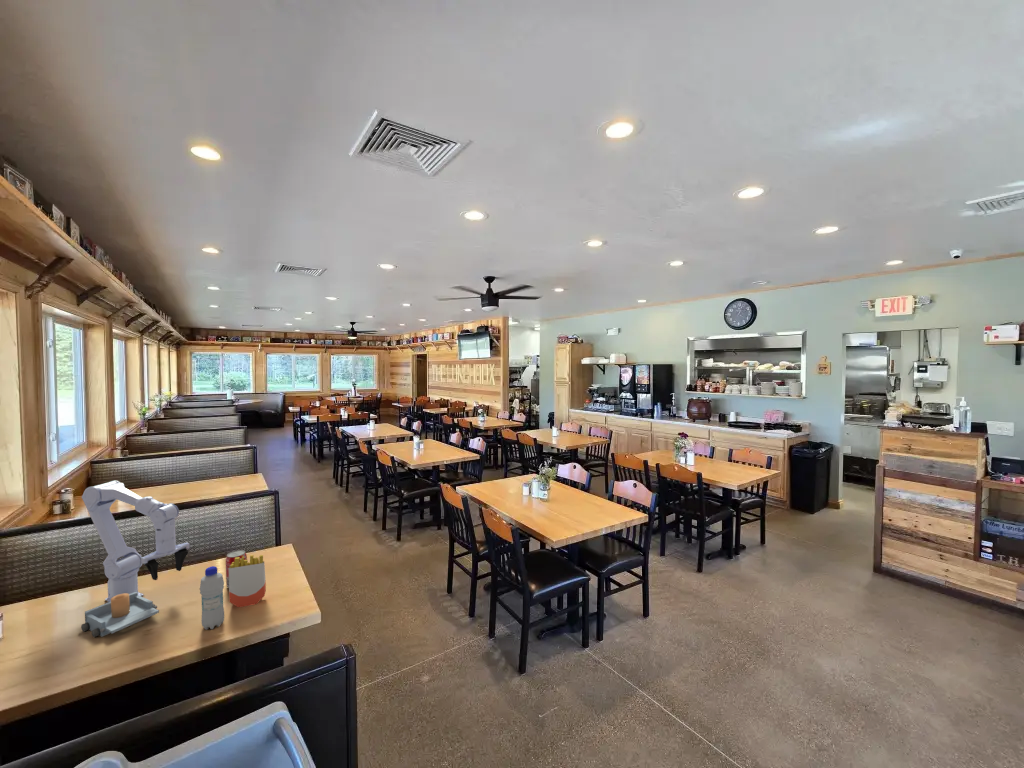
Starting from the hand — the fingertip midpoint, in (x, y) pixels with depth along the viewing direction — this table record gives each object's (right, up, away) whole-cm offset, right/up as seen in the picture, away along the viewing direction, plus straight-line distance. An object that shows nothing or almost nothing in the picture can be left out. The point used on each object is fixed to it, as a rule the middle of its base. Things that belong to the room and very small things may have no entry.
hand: (167, 574), depth 160 cm
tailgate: (-1, -8, -15) cm, 17 cm away
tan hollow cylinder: (-6, -8, -12) cm, 16 cm away
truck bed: (-6, -11, -12) cm, 17 cm away
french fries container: (+30, -10, -1) cm, 32 cm away
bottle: (+27, -11, -15) cm, 33 cm away
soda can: (+19, -10, +12) cm, 24 cm away
